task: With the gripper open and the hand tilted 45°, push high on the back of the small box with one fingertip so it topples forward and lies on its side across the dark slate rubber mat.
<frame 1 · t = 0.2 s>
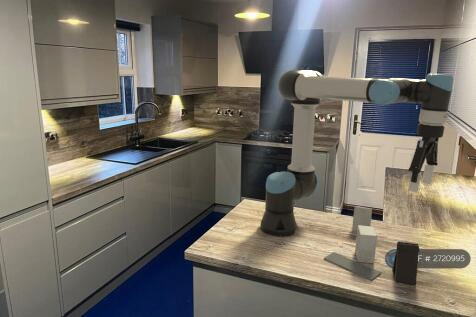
hand: (419, 187, 119), 28 cm above the counter, tool pointing down, fingers open, 13 cm apart
small box: (364, 257, 129), on the counter
slate mat: (351, 265, 123), on the counter
phone stand: (403, 277, 117), on the counter
white tea box: (361, 230, 150), on the counter
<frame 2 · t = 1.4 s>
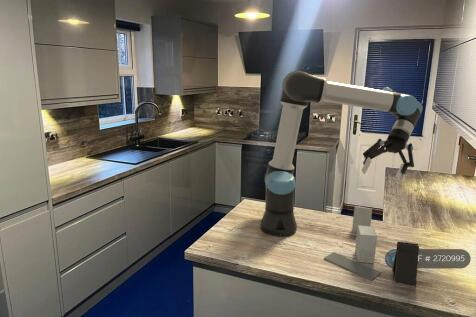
hand: (379, 175, 140), 25 cm above the counter, tool tilted 45°, fingers open, 13 cm apart
nothing on the counter moved.
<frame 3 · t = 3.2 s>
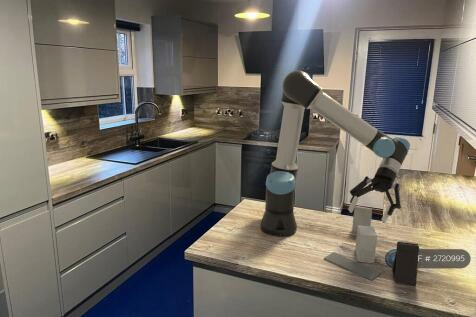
hand: (365, 216, 138), 10 cm above the counter, tool tilted 45°, fingers open, 13 cm apart
nothing on the counter moved.
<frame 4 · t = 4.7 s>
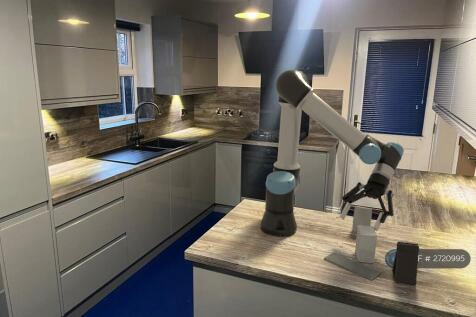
hand: (357, 223, 135), 9 cm above the counter, tool tilted 45°, fingers open, 13 cm apart
small box: (364, 257, 129), on the counter, touching gripper
everything else where it was.
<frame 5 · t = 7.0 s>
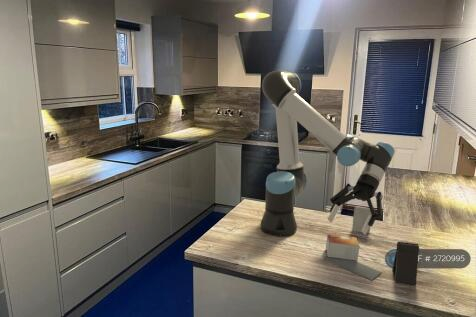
hand: (345, 226, 129), 10 cm above the counter, tool tilted 45°, fingers open, 13 cm apart
small box: (357, 248, 128), point 3 cm above the counter, touching slate mat
everything else where it was.
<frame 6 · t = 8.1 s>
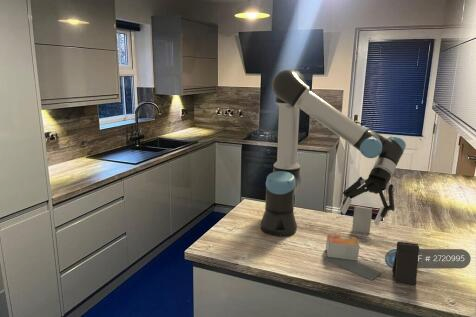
hand: (358, 218, 134), 11 cm above the counter, tool tilted 45°, fingers open, 13 cm apart
nothing on the counter moved.
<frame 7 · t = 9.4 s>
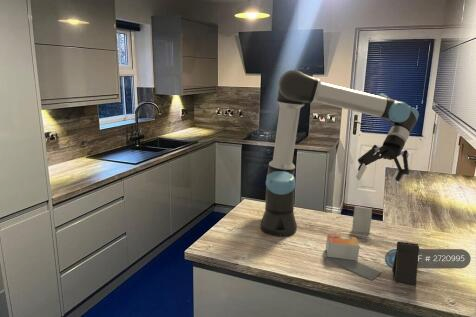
hand: (373, 182, 139), 23 cm above the counter, tool tilted 45°, fingers open, 13 cm apart
nothing on the counter moved.
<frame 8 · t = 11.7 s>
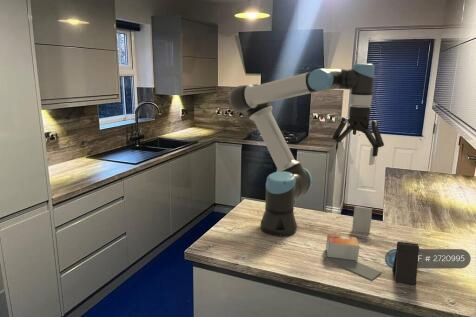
hand: (355, 161, 140), 31 cm above the counter, tool pointing down, fingers open, 13 cm apart
nothing on the counter moved.
at the end: small box tilted 88°; small box touching slate mat, counter; small box inside the target area (4.3 cm from its centre), point 2.9 cm above the counter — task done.
